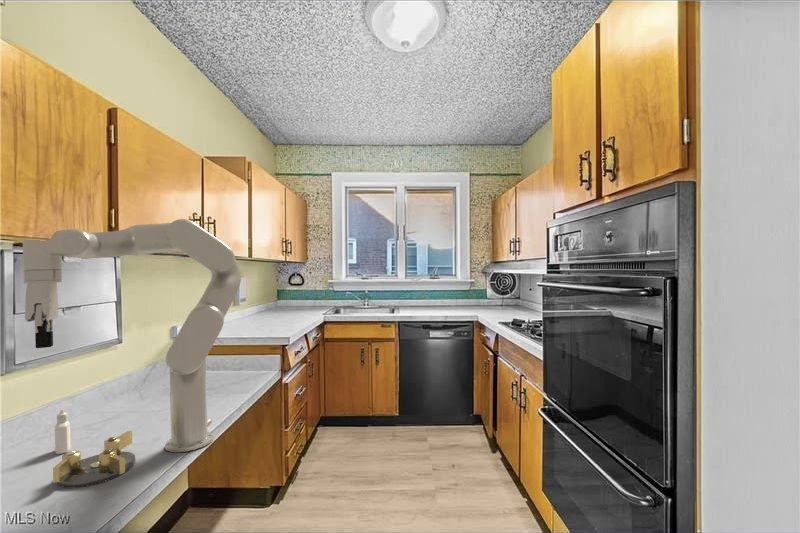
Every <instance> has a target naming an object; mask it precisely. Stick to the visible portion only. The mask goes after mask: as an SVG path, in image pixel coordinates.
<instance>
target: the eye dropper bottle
mask: <svg viewBox="0 0 800 533" xmlns="http://www.w3.org/2000/svg"><path fill="white" fill-rule="evenodd" d="M68 415H69V414H68V412H65V409H64V408H61V409H60V411H59V413H58V414H57V415H56V423H55V426H54V451H55V454H56V455H64V454H66V453H67V452H68V451H71V450H72V449H71V448H72V447H71V446H72V445H71V422H70V421H69V416H68Z"/></svg>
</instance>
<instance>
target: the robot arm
mask: <svg viewBox="0 0 800 533" xmlns="http://www.w3.org/2000/svg"><path fill="white" fill-rule="evenodd" d="M55 231H56V232H55V233H54V234H53V235H52V237H51V240H46V241H40V240H26V239H24V240H23V239H22V260H23V261H22V265H23V266H22V267H23V268H22V270H23V272H22V273H23V284H26V289H25V301H24V302H25V304H24V320H25V321H26V322H28V323H31V322H34V331H35V333H34V334H35V337H34V338H35V349H43V348H46V349H47V348H51V347H53V346H54V331H53V327H54V325H53V323H54V322H53V320H54V319H56V318H57V317H58V316H59V298H58V297H59V296H58V284H57V283H63V282H62V280H63V279H62V278H63V277H62V257H68V258H77V259H82V260H83V259H84V260H87V259H89V260H90V259H99V258H114V257H123V256H138V255H139V256H140V255H150V254H151V255H152V254H161V253H174V252H182V253H184V254H185V255H186V256H188V257H190V258H191V259H192V260H195V261H196V262H197V263H199V264H200V265H201V266H203V267H204V268H206V269H208V270H209V271H210V273H211V279H210V281H209V282H208V284H207V287H206V288H205V291H204V292H203V294H202V296H201V298H200V299H199V301H198V303H197V304H196V305H195V306H194V308H193V309H192V310H191V311H190V312H189V313H188V316H187V318H186V319H185V321H184V322H183V324H182V326H181V328H180V330H179V331H178V333H177V334H176V337H175V338H174V340H173V341H172V343H171V345H170V347H169V349H168V350H167V352H166V354H165V355H166V356H165V363H166V366H167V368H168V369H169V404H170V406H169V407H170V411H169V412H170V434H171V435H170V437H171V439H168V441H166V442H165V443H164V448H165V451H168V452H171V453H185V452H191V451H195V450H198V449H200V448H203V447H205V446H207V445H210V443H212V441H213V440H214V434H213V432H210V431H208V427H209V426H211V425H212V423H213V420H212V419H210V418H208V408H207V407H208V405H207V404H208V402H207V399H208V398H207V360H206V359H207V357H208V356H209V353H210V352H211V350H212V348H213V347H214V344H215V342H216V341H217V338H218V337H219V335H220V334H221V331H222V329H223V327H224V325H225V317H226V314H227V313H228V311H229V310H230V307H231V305H232V303H233V301H234V299H235V298H236V296H237V293H238V291H239V289H240V285H241V280H242V273H241V268H240V265H239V262H238V261H237V259H236V257H235V252H234V251H233V250H232V248H230V246H229V245H227V244H226V243H224V242H223V241H221V240H220V239H218V238H217V237H215V235H213V234H211V233H209V232H208V231H207V230H205V228H202V227H201V226H199V225H198V224H197V223H196V222H194V221H192V220H189V219H187V218H180V219H176V220H174V221H172V222H164V223H146V224H145V223H144V224H143V223H142V224H135V225H131V226H129V227H127V228H123V229H120V230H113V231H101V232H100V231H98V232H88V231H85V230H83V229H77V228H71V229H70V228H68V229H59V231H58V230H55Z"/></svg>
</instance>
